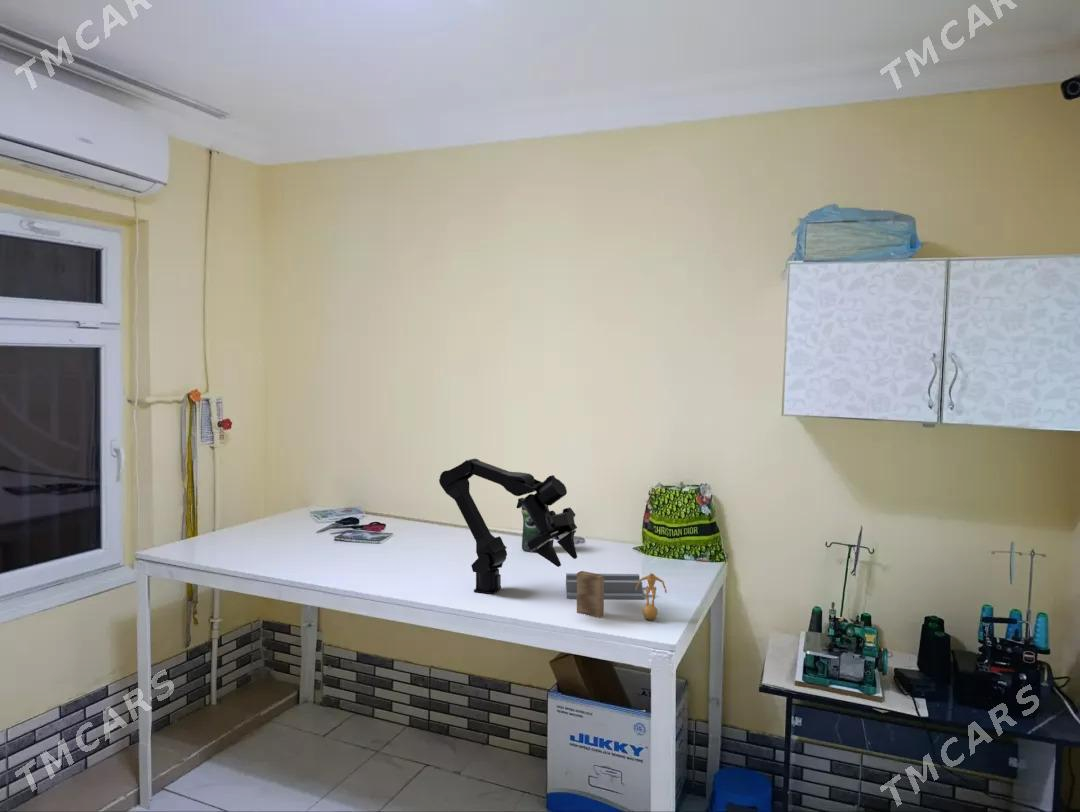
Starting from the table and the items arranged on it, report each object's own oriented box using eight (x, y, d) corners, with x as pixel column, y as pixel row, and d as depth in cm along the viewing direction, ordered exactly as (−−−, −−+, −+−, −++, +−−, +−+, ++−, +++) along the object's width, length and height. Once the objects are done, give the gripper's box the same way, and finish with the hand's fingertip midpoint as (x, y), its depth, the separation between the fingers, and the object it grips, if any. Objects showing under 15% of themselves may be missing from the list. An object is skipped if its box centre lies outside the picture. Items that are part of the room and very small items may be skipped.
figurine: (633, 620, 190) (633, 575, 189) (636, 612, 196) (637, 569, 195) (664, 623, 188) (665, 578, 187) (667, 615, 193) (668, 571, 193)
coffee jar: (551, 548, 263) (551, 498, 261) (543, 554, 255) (543, 502, 254) (526, 546, 266) (526, 496, 265) (518, 551, 259) (518, 500, 258)
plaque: (576, 612, 196) (576, 573, 195) (581, 610, 198) (581, 570, 197) (599, 618, 192) (599, 577, 191) (603, 615, 194) (604, 575, 193)
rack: (566, 598, 207) (566, 584, 207) (565, 583, 221) (565, 570, 221) (643, 599, 207) (643, 585, 207) (637, 584, 221) (637, 571, 221)
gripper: (542, 505, 192) (572, 556, 188) (575, 494, 208) (604, 541, 204) (514, 525, 197) (542, 575, 193) (548, 513, 213) (576, 559, 209)
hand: (567, 562), depth 200 cm, fingers open, 9 cm apart
